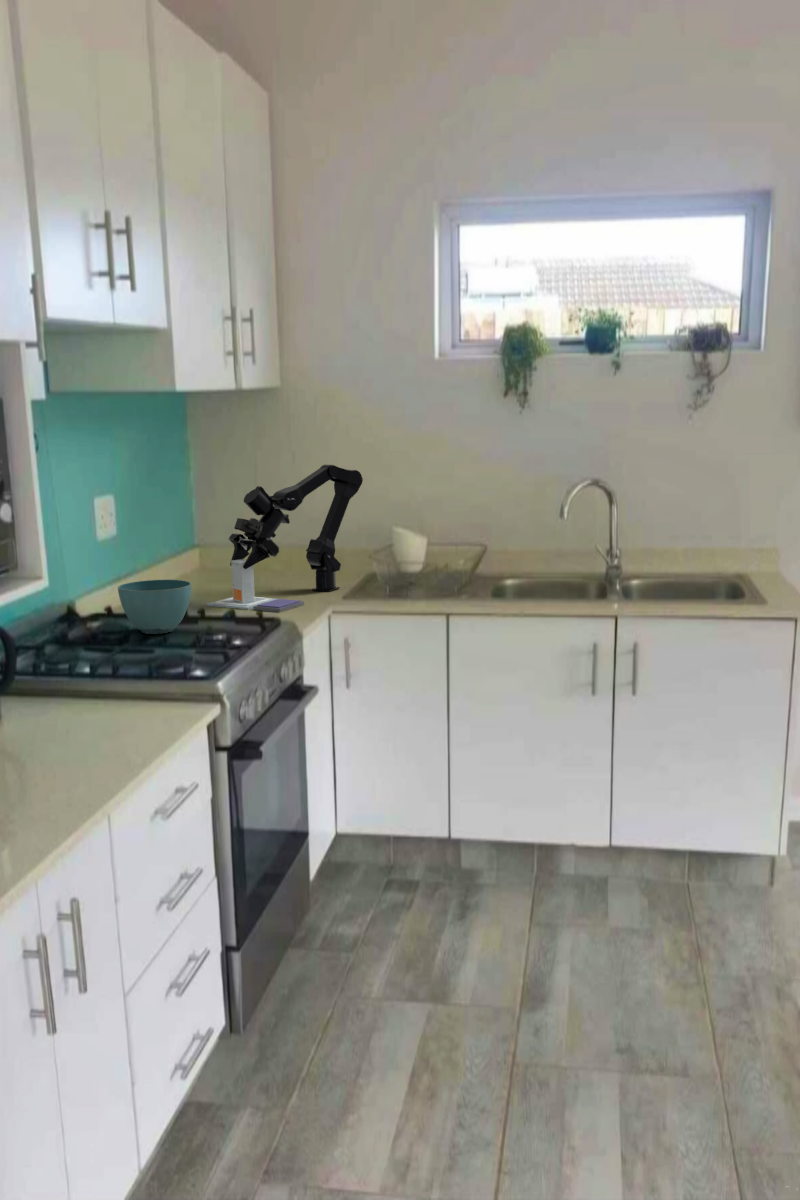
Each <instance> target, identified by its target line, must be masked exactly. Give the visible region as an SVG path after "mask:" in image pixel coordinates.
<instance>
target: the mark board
mask: <svg viewBox="0 0 800 1200" xmlns="http://www.w3.org/2000/svg"><path fill="white" fill-rule="evenodd" d="M277 599H278V598H271V597H263V596H262V597H261V596H260V597H259V596H255V602H248V603H241V602H238V601H234V600H233V596H231V597H227V598H223V599H219V600H217V601H213V602H210V603H209V602H208V603H206V606H207V607H213V606H214V608H224V607H226V608H227V609H235V608H238V609H237V610H246V611H249V610H254V606H257V605H259V604H262V603H266V602H269V601H273V600H277ZM247 609H248V610H247Z"/></svg>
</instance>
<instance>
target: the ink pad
mask: <svg viewBox="0 0 800 1200" xmlns="http://www.w3.org/2000/svg"><path fill="white" fill-rule="evenodd" d="M276 599H277V600H273V601H269V602H266V603H262V604H259V605H257V606H254V608H253V610H254V611H261V610H262V612H263V611H264V612H273V613H281V612H284V611H289V610H292V609H295V608H298V607H302V606H305V602H304V601H302V600H295V599H284V598H276Z"/></svg>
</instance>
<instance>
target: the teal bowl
mask: <svg viewBox="0 0 800 1200" xmlns="http://www.w3.org/2000/svg"><path fill="white" fill-rule="evenodd" d="M191 593H192V582H191V581H187V580H183V579H181V580H180V579H147V580H138V581H131V582H127V583H123V584H120V585H118V586H117V594H118V596H119V602H120V604H121V607H122V609H123V611H124V613H125V615H126V617H127V619H128V620H129V621H130V623H131V624H132V625H133V627H134V628H136V627H137V628H141V629H158V628H159V629H166V628H171V627H174V626H177V625H178V624H179V623H181V622H182V620H183V619H184V616H186V613H187V610H188V608H189V605H190V599H191V596H192V595H191ZM179 625H180V624H179ZM179 625H178V626H179ZM178 626H177V627H178Z"/></svg>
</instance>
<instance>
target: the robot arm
mask: <svg viewBox="0 0 800 1200" xmlns="http://www.w3.org/2000/svg"><path fill="white" fill-rule="evenodd" d="M363 480H364V479H363V475H362V474H361V472H360V471H359V470H357V469H346V468H344V467H339V466H337V465H334V464H322V465H321V466H320V468H318V469H316V470H315V471H313V472H312V473H310V474H309V475H308V476H306V477H305V478H303V479H302V480H300V481H299V482H297V483H296V484H294V485H292V486H291V485H290V486H289V487H288V486H287V487H284V488H282V489H279V490H277V491H276V492H274V493H273V495H269V494H268V493H267V492H266V491H265V490H266V489H264V488H263V487H262V486H259V485H258V486H256V487H255V489H252V490H250V491H249V492H248V493H246V494H245V496H244V498H243V502H244V504H245V505H246V506H247V507H248V508H249V509H250V510H251V511H252V512H253V513H254V514H255V516H261V517H260V519H257V518H255V517H251V518H250V519H246V518H241V517H240V518H238V517H237V518H236V522H235V525H234V527H233V529H234V530H236V531H237V530H238V531H241V532H243V534H242V533H237V532H236V533H231V534H230V536H229V538H228V540H229V541H230V542H231V543H232V544H233V547H234V549H233V552H232V556H231V559H230V563H229V566H230V567H231V561H232V560H241V559H244V560H246V562H245V563H244V565H243V568H244V569H247V568H249V567H251V566H253V567H254V565H256V564H259V563H260V562H262V561H264V560H266V559H269V558H271V557H277V556H278V554H279V553H280V547H279V546H278V545H277V544H276V543H275V542H274V541H273V539H274V538H275V537H276V536H277V534H276V533H275V532H277V530H278V528H279V527H280V526H281V524H290V519H289V518H290V517H289V514H287V513H284V512H283V511H288V512H292V511H295V510H296V509H297V508H298V507H299V506H301V504H302V503H303V501H304V499H305V498H306V496H308V495H309V494H311V493H312V492H314V491H315V490H317V489H318V488H320V487H321V486H322V485H324V484H326V483H327V482H329V481H331V482H333V488H334V489H333V490H334V496H333V498H332V501H331V504H330V507H329V510H328V512H327V515H326V517H325V520H324V522H323V525H322V528H321V531H320V533H319V535H318V536H317V538H315V539H312V538H311V539H309V542H308V543H309V544H308V547H307V548H306V550H305V552H306V555H305V558H306V561H307V563H308V564H309V566H310V569H311V570H314V571H315V587H313V588H312V591H316V590H318V592H332V590H333V591H336V590H338V588H341V587H340V586H337V585H336V583H337V582H336V572H339V571H340V570H341V566H342V564H341V562H340V561H339V560H338V559H337V558H336V557H335V554H336V546H335V545H336V544H335V540H336V538H337V535H338V533H339V529H340V527H341V524H342V522H343V519H344V516H345V513H346V511H347V508H348V505H349V503H350V501H351V499H352V498H353V497H354V496H355V495H356V494H357V493H358V492H359V490H360V488H361V486H362V485H363ZM272 538H273V539H272ZM249 551H251V552H249ZM246 557H247V559H245V558H246ZM335 589H336V590H335Z"/></svg>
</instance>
